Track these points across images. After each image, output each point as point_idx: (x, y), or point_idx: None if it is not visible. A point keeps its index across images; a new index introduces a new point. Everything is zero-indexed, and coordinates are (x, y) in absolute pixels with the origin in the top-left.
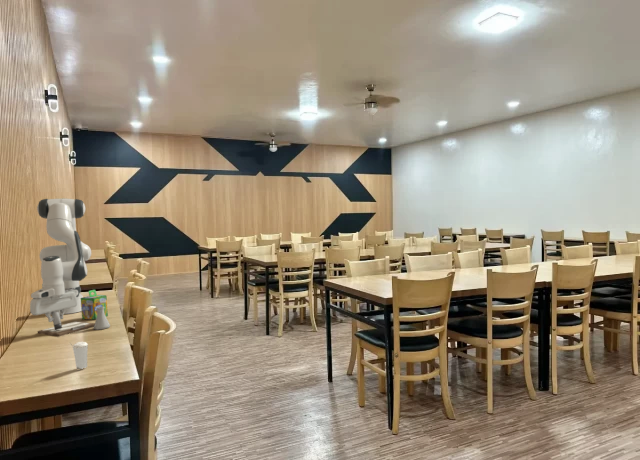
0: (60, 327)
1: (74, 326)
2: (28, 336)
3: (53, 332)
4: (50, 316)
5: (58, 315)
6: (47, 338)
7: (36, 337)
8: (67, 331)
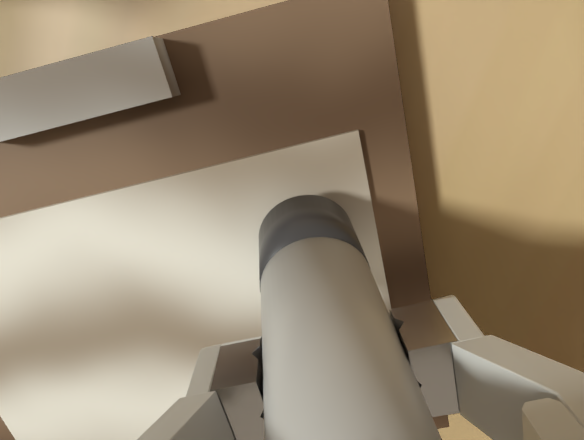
0: (292, 205)
1: (95, 256)
2: (552, 358)
3: (384, 186)
4: (506, 361)
5: (303, 363)
6: (515, 26)
7: (543, 231)
8: (243, 44)
